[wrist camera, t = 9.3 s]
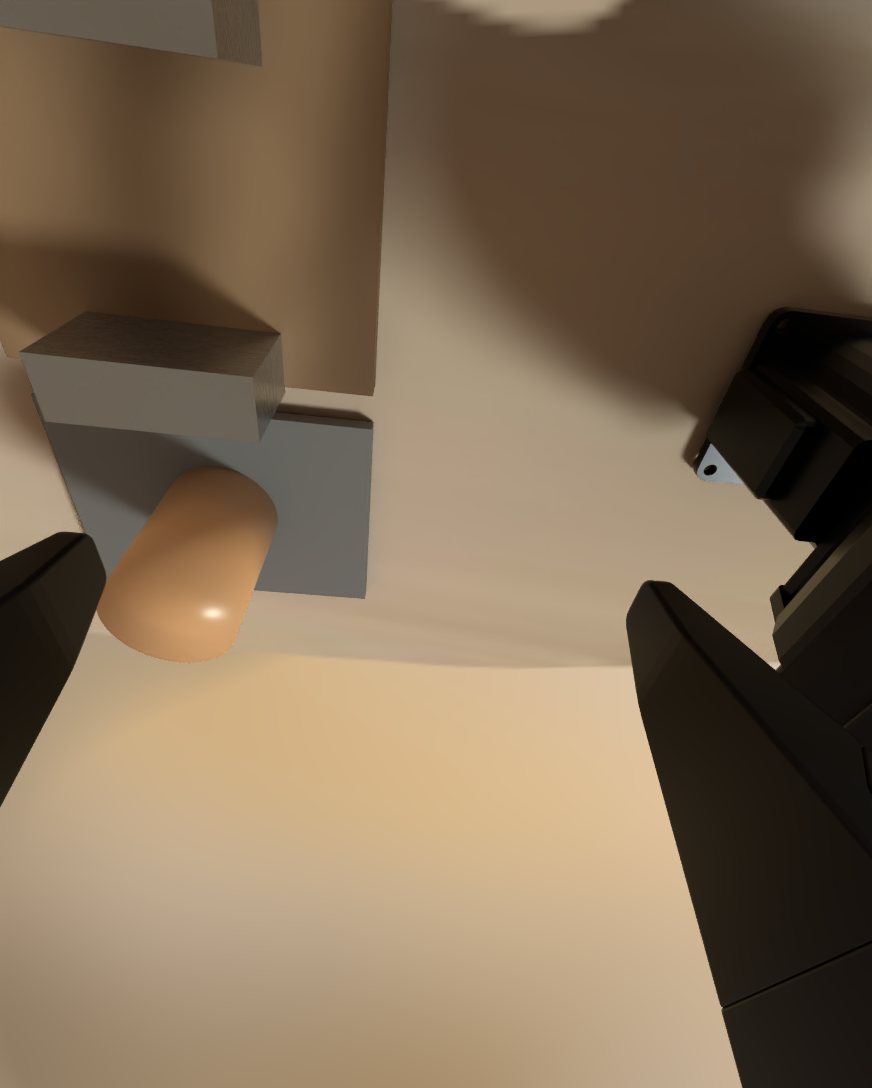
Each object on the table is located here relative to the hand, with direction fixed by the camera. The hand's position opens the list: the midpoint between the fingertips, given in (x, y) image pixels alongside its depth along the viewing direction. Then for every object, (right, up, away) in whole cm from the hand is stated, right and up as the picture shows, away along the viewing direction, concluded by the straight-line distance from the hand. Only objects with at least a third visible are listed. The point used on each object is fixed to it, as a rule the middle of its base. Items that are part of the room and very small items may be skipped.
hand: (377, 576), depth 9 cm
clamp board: (-7, +11, +7) cm, 14 cm away
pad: (-8, +2, +14) cm, 16 cm away
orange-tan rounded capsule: (-8, +2, +13) cm, 16 cm away
